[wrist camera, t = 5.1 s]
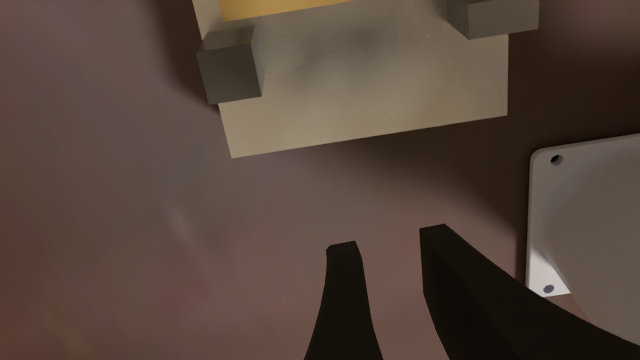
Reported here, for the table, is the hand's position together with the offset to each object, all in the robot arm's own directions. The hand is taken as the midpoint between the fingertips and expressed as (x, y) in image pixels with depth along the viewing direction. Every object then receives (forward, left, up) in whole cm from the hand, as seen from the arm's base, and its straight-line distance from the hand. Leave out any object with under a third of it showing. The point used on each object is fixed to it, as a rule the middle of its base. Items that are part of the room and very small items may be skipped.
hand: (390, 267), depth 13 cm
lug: (+4, -4, -8) cm, 9 cm away
